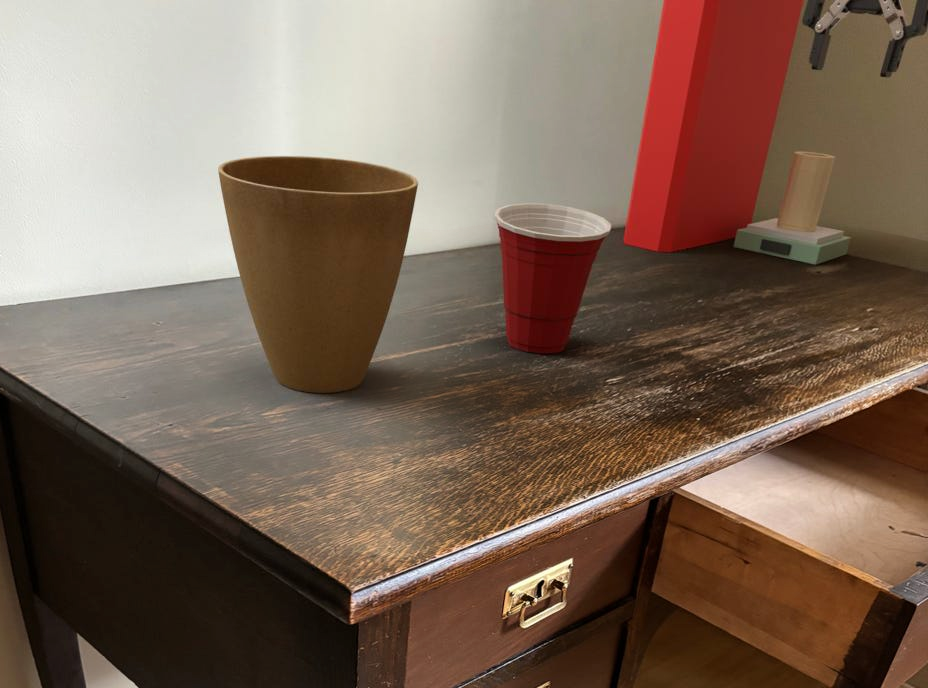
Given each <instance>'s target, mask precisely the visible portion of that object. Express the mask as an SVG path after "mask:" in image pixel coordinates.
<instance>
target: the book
mask: <svg viewBox="0 0 928 688" xmlns="http://www.w3.org/2000/svg"><path fill="white" fill-rule="evenodd" d="M804 1H805V0H663V1H662V2H663V3H662V9H661V15H660V21H659V25H658V32H657V39H656V45H655V49H654V55H653V63H652V68H651V74H650V79H649V86H648V92H647V98H646V104H645V108H644V109H645V110H644V115H643V122H642V126H641V127H642V128H641V134H640V140H639V145H638V151H637V157H636V162H635V167H634V168H635V170H634V175H633V181H632V187H631V192H630V197H629V198H630V199H629V200H630V201H629V204H628V210H627V216H626V223H625V229H624V234H623V241H622V242H623V244H624V245H628V246H632V247H636V248H640V249H645V250H648V251H649V250H650V251H653V252H658V253H674V251H675V252H678V250H679V251H683V250H687V248H688V249H691V248H696V247H701V246H705V245H710V244H714V243H718V242H722V241H723V242H724V241H727V240H730V239H735V238H736V233H737V230H739V229H743V228H747V225H748V224H752V223H753V217H754V215H755V209H756V206H757V205H756V204H757V200H758V196H759V192H760V187H761V183H762V179H763V175H764V171H765V166H766V161H767V159H768V154H769V149H770V146H771V141H772V137H773V132H774V128H775V124H776V120H777V115H778V111H779V106H780V102H781V99H782V95H783V90H784V85H785V80H786V78H787V73H788V68H789V65H790V60H791V56H792V52H793V48H794V43H795V39H796V34H797V30H798V26H799V23H800V17H801V14H802V9H803V5H804Z"/></svg>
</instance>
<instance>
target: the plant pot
mask: <svg viewBox="0 0 928 688" xmlns="http://www.w3.org/2000/svg"><path fill="white" fill-rule="evenodd" d="M217 171H218V177H219V185H220V190H221V195H222V201H223V205H224V211H225V215H226V222H227V226H228V231H229V237H230V241H231V244H232V249H233V254H234V258H235V262H236V265H237V266H236V267H237V270H238V273H239V278H240V281H241V285H242V289H243V291H244V295H245V298H246V301H247V306H248V308H249V311H250V315H251V318H252V322H253V324H254V327H255V329H256V333H257V336H258V338H259V341H260V343H261V346H262V349H263V352H264V355H265V356H266V357H265V358H266V360H267V362H268V364H269V366H270V369H271V371H272V374H273V376H274V378H275V380H276V381H277V382H278V383H279V384H281V385H282V386H284V387H286V388H289V389H291V390H294V391H299V392H305V393H316V394H317V393H318V394H324V393H325V394H331V393H341V392H346V391H349V390H352V389H354V388H357V387H358V386H360V385H361V384H362V383H363V381H364V378H365V376H366V373H367V371H368V369H369V366H370V363H371V361H372V359H373V356H374V354H375V351H376V348H377V346H378V343H379V341H380V338H381V335H382V332H383V331H384V330H383V329H384V326H385V324H386V321H387V317H388V315H389V312H390V309H391V305H392V302H393V299H394V295H395V291H396V289H397V288H396V287H397V284H398V280H399V277H400V272H401V269H402V265H403V261H404V257H405V251H406V248H407V243H408V238H409V235H410V234H409V233H410V228H411V223H412V218H413V212H414V208H415V207H414V206H415V202H416V197H417V192H418V187H419V181H418V179H417V178H416V177H414V176H413V175H411V174H409V173H407V172H405V171H401V170H400V169H399V170H398V169H396V168H392V167H389V166H385V165H381V164H375V163H371V162H365V161H359V160H353V159H344V158H333V157H324V156H323V157H321V156H307V155H265V156H252V157H243V158H237V159H232V160H227V161H225V162H223V163H221V164H220V165H219V166H218V167H217Z"/></svg>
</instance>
